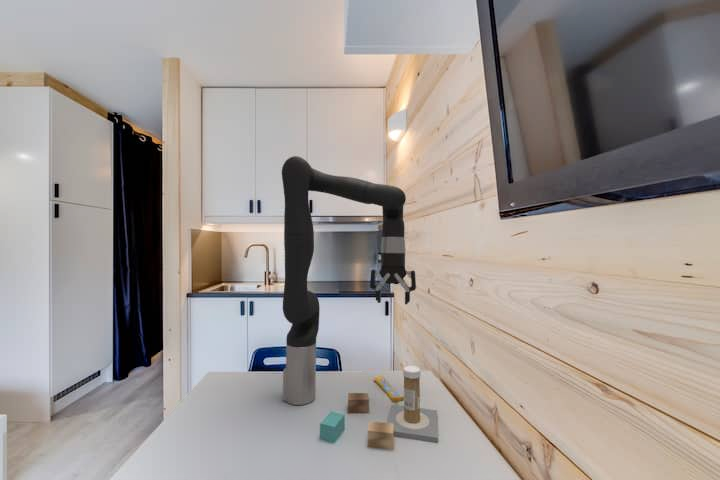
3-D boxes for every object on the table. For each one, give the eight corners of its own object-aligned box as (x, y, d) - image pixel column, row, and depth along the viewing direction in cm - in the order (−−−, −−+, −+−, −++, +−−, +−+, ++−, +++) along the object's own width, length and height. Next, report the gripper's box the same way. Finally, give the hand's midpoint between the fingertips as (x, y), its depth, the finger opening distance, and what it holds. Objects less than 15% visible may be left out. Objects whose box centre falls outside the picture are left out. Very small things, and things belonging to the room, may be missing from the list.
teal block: (319, 439, 75) (320, 423, 75) (330, 426, 81) (330, 411, 81) (334, 443, 74) (334, 426, 74) (344, 430, 79) (344, 414, 79)
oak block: (367, 447, 72) (367, 430, 72) (369, 437, 76) (369, 421, 76) (392, 450, 71) (392, 433, 72) (393, 439, 75) (393, 423, 75)
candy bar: (405, 402, 94) (405, 396, 94) (393, 405, 93) (393, 398, 93) (383, 380, 110) (383, 375, 110) (373, 381, 109) (373, 376, 109)
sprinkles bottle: (423, 420, 81) (423, 369, 82) (411, 425, 79) (411, 372, 79) (411, 412, 85) (411, 364, 86) (399, 417, 83) (399, 367, 83)
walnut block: (347, 413, 87) (348, 399, 87) (347, 406, 91) (348, 393, 91) (368, 413, 87) (368, 399, 87) (367, 406, 91) (368, 393, 91)
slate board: (384, 434, 77) (385, 429, 77) (391, 408, 90) (391, 404, 90) (437, 442, 74) (437, 437, 74) (436, 414, 87) (436, 409, 87)
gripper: (368, 251, 94) (368, 304, 94) (415, 252, 91) (415, 306, 90) (373, 251, 101) (372, 300, 101) (416, 251, 98) (416, 302, 98)
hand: (392, 303), depth 96 cm, fingers open, 8 cm apart
